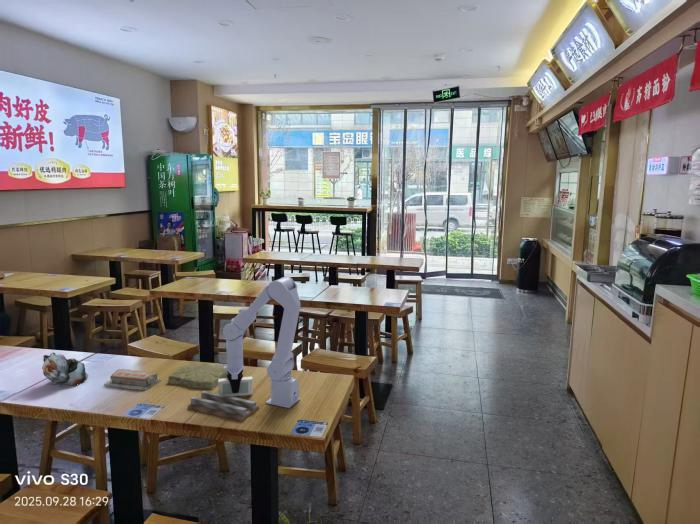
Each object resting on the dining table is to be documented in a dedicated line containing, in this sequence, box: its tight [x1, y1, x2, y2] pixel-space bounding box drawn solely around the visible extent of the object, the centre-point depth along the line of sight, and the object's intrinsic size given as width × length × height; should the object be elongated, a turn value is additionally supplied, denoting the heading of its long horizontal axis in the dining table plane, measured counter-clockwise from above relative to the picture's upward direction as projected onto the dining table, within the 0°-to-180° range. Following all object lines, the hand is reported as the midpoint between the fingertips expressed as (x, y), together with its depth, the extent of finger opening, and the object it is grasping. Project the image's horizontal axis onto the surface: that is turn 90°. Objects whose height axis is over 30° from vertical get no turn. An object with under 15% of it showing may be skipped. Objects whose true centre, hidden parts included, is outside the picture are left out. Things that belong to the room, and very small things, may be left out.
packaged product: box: [103, 368, 162, 391], centre depth 181 cm, size 18×5×10 cm
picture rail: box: [187, 390, 260, 422], centre depth 161 cm, size 22×10×3 cm, turn 67°
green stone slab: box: [167, 361, 228, 390], centre depth 187 cm, size 19×20×4 cm
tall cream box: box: [217, 376, 254, 397], centre depth 172 cm, size 12×3×6 cm, turn 102°
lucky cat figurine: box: [41, 352, 89, 386], centre depth 180 cm, size 15×12×14 cm
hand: (235, 390), depth 172 cm, fingers closed on tall cream box, 3 cm apart
